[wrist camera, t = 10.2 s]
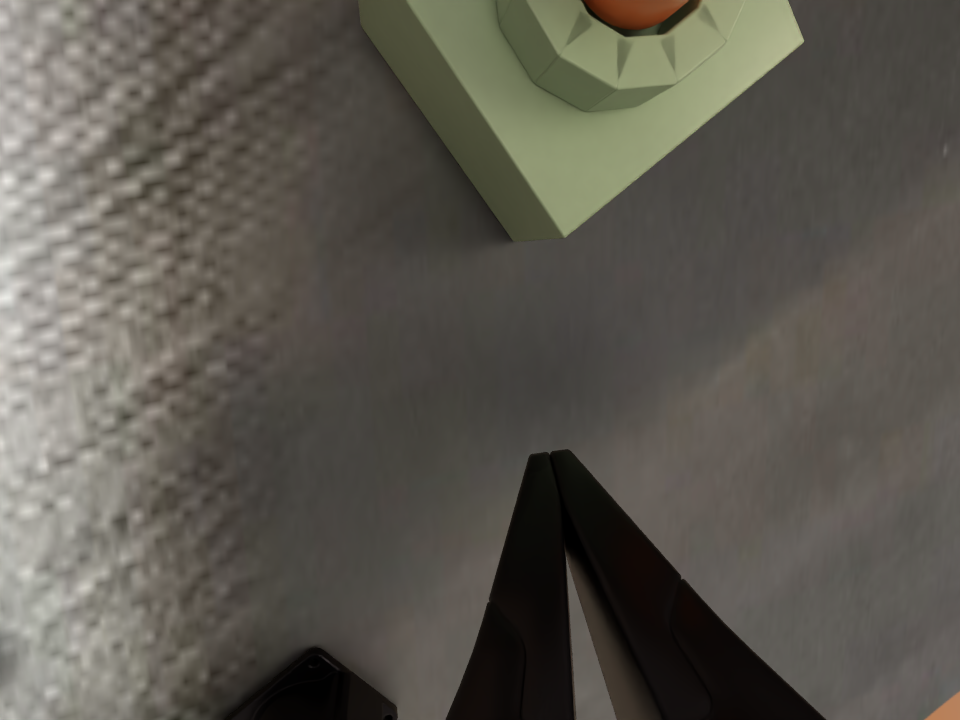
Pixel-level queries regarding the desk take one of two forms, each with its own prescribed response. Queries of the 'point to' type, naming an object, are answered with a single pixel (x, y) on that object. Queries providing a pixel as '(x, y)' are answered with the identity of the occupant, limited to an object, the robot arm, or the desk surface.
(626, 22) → the orange cylinder cap
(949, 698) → the desk surface
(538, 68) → the green push button box
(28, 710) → the desk surface
